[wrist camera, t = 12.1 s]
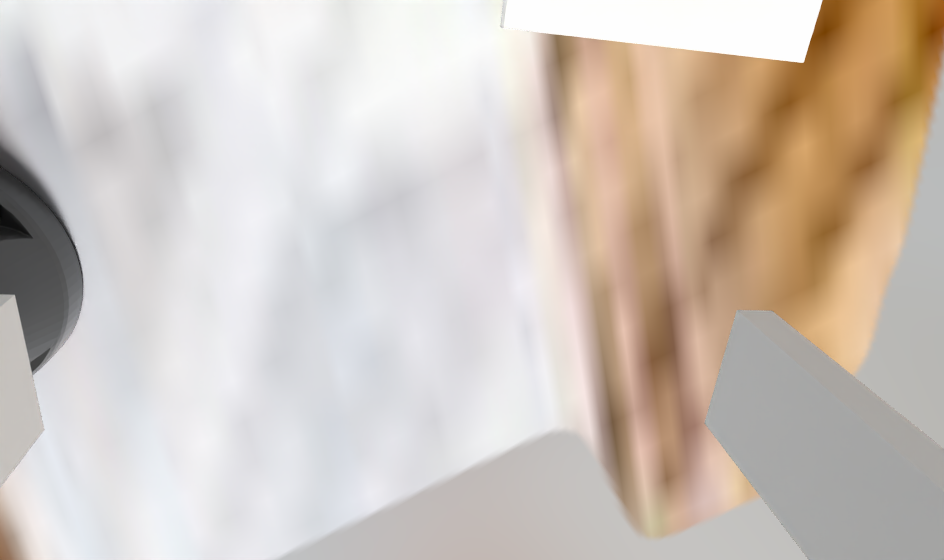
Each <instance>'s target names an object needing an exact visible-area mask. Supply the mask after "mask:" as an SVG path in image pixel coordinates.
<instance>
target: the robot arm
mask: <svg viewBox="0 0 944 560" xmlns="http://www.w3.org/2000/svg"><path fill="white" fill-rule="evenodd" d="M82 298H83V283H82V275H81V269H80V265H79V261H78V258H77V255H76V252H75V250H74V248H73V245H72V243H71V241H70V239H69V237H68V235H67V233H66V232H65V230H64V228H63V227H62V225H61V224H60V222H59V221H58V219H57V218H56V217H55V215H54V214H53V213H52V211H51V210H50V209H49V208H48V207H47V205H46V204H45V203H44V202H43V201H42V200H41V199H40V198H39V197H38V196H37V195H36V194H35V193H34V192H33V191H32V190H31V189H29V188H28V187H27V186H26V185H25V184H23V183H22V182H21V181H20V180H18V179H17V178H16V177H14V176H13V175H12V174H10V173H9V172H7V171H6V170H4V169H3V168H1V167H0V487H1V486H2V485H3V483H4V482H5V481H6V480H7V478H8V477H9V476H10V474H11V473H12V472H13V470H14V469H15V468H16V466H17V465H18V464H19V462H20V461H21V460H22V459H23V457H24V456H25V455H26V453H27V452H28V451H29V449H30V448H31V447H32V445H33V444H34V443H35V441H36V440H37V439H38V438H39V436H40V435H41V434H42V432H43V431H44V426H43V421H42V416H41V412H40V407H39V403H38V398H37V394H36V389H35V385H34V380H33V374H35V373H36V372H37V371H38V370H40V369H41V368H42V367H43V366H44V365H45V364H46V363H47V362H48V361H49V360H50V359H51V358H52V356H53V355H54V354H55V353H56V352H57V351H58V350H59V349H60V348H61V347H62V346H63V345H64V343H65V342H66V341H67V340H68V338H69V336H70V335H71V333H72V331H73V330H74V328H75V326H76V323H77V321H78V318H79V314H80V311H81V306H82ZM705 424H706V426H707V427H708V428H709V430H710V431H711V432H712V434H713V435H714V436H715V438H716V439H717V440H718V441H719V443H720V444H721V445H722V447H723V448H724V449H725V451H726V452H727V453H728V455H729V456H730V457H731V458H732V460H733V461H734V462H735V464H736V465H737V466H738V468H739V469H740V470H741V472H742V473H743V474H744V476H745V477H746V478H747V479H748V481H749V482H750V483H751V485H752V486H753V487H754V489H755V490H756V491H757V493H758V494H759V495H760V496H761V498H762V499H763V500H764V502H765V503H766V504H767V506H768V507H769V508H770V510H771V511H772V512H773V513H774V515H775V516H776V517H777V519H778V520H779V521H780V523H781V524H782V525H783V527H784V528H785V529H786V531H787V532H788V533H789V534H790V536H791V537H792V538H793V540H794V541H795V542H796V544H797V545H798V546H799V548H800V549H801V550H802V552H803V553H804V554H805V555H806V557H807V558H808V559H809V560H944V449H943V448H942V447H941V446H940V445H938V444H937V443H936V442H935V441H934V440H932V439H931V438H930V437H929V436H927V435H926V434H925V433H924V432H922V431H921V430H920V429H919V428H917V427H916V426H915V425H914V424H912V423H911V422H910V421H909V420H907V419H906V418H905V417H904V416H902V415H901V414H900V413H898V412H897V411H896V410H895V409H894V408H892V407H891V406H890V405H889V404H887V403H886V402H885V401H884V400H882V399H881V398H880V397H879V396H877V395H876V394H875V393H874V392H872V391H871V390H870V389H869V388H868V387H866V386H865V385H864V384H863V383H861V382H860V381H859V380H857V379H856V378H855V377H854V376H853V375H851V374H850V373H849V372H848V371H846V370H845V369H844V368H843V367H841V366H840V365H839V364H838V363H836V362H835V361H834V360H833V359H831V358H830V357H829V356H828V355H826V354H825V353H824V352H823V351H821V350H820V349H819V348H818V347H816V346H815V345H814V344H813V343H811V342H810V341H809V340H808V339H806V338H805V337H804V336H803V335H801V334H800V333H799V332H798V331H796V330H795V329H794V328H793V327H792V326H790V325H789V324H788V323H787V322H785V321H784V320H783V319H782V318H780V317H779V316H778V315H777V314H775V313H774V312H773V311H761V310H737V312H736V315H735V319H734V322H733V326H732V329H731V333H730V336H729V340H728V343H727V347H726V350H725V354H724V357H723V361H722V364H721V368H720V371H719V375H718V378H717V381H716V385H715V388H714V392H713V395H712V399H711V402H710V406H709V409H708V413H707V416H706V420H705Z"/></svg>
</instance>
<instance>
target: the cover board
mask: <svg viewBox="0 0 944 560" xmlns="http://www.w3.org/2000/svg"><path fill="white" fill-rule="evenodd" d="M821 3H822V0H503V8H502V16H501V25H500V27H501V28H506V29H515V30H524V31H532V32H541V33H550V34H558V35H567V36H576V37H584V38H593V39H602V40H610V41H619V42H628V43H636V44H645V45H654V46H662V47H671V48H680V49H688V50H697V51H706V52H714V53H723V54H732V55H740V56H749V57H758V58H766V59H775V60H784V61H792V62H801V63H804V60H805V56H806V53H807V50H808V46H809V43H810V40H811V36H812V33H813V30H814V26H815V23H816V20H817V16H818V13H819V10H820V6H821Z"/></svg>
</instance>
